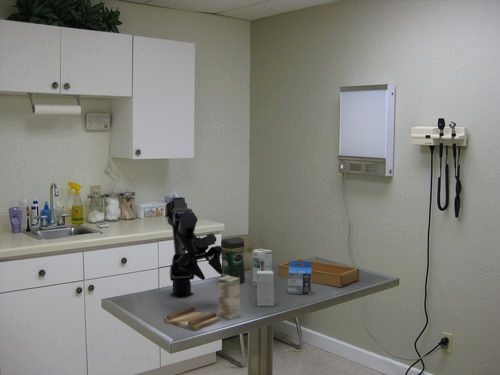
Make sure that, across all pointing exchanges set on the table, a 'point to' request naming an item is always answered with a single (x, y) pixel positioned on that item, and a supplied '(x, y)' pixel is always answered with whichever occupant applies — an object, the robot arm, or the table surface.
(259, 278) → the skincare box
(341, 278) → the tray
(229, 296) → the maple block
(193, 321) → the slotted oak board
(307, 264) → the label tape box
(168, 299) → the table surface
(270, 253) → the syrup box
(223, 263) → the coffee jar
